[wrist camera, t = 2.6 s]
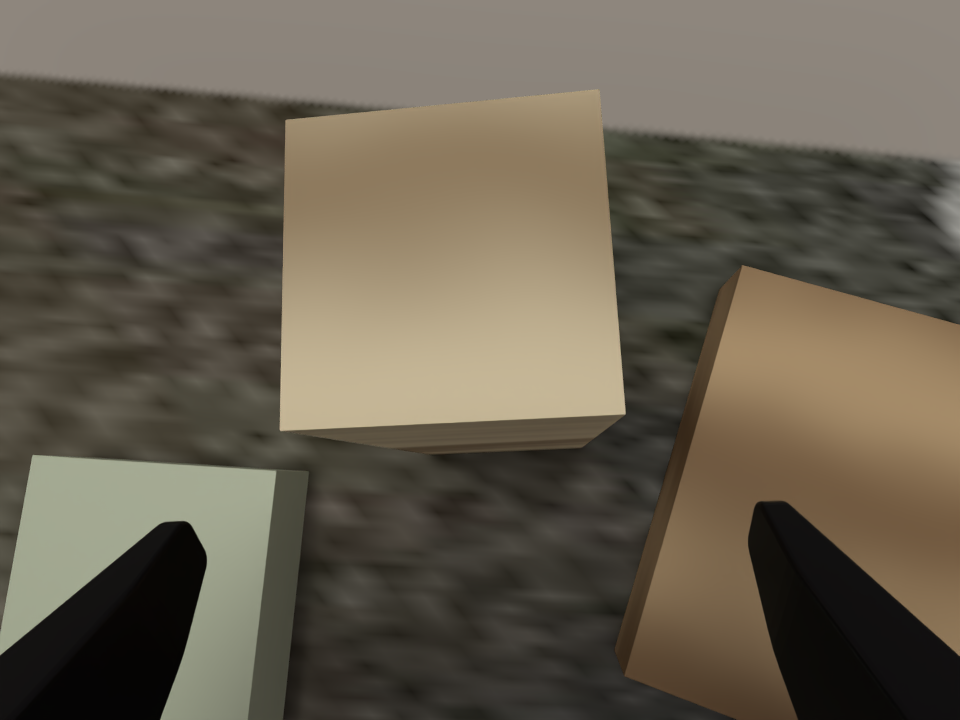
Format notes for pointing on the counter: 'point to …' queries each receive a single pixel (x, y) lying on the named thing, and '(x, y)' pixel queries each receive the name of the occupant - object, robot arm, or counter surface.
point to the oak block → (797, 481)
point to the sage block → (228, 577)
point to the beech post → (451, 277)
